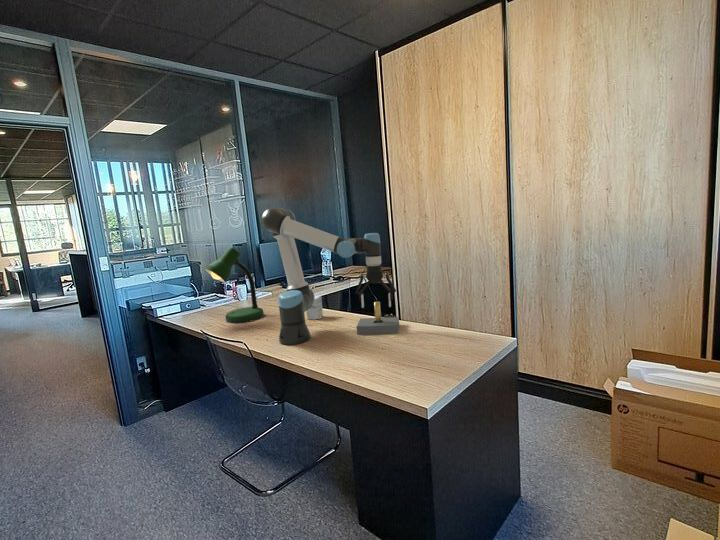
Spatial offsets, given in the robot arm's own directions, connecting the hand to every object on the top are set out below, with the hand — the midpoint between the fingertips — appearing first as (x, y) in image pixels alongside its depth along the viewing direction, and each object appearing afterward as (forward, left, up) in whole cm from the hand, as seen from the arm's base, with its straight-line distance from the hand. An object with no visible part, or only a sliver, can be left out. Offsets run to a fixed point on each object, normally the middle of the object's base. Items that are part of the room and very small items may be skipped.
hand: (376, 306), depth 186 cm
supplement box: (+26, +40, -12) cm, 49 cm away
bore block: (0, 0, -12) cm, 12 cm away
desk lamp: (+30, +90, -12) cm, 95 cm away
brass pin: (0, 0, -12) cm, 12 cm away
